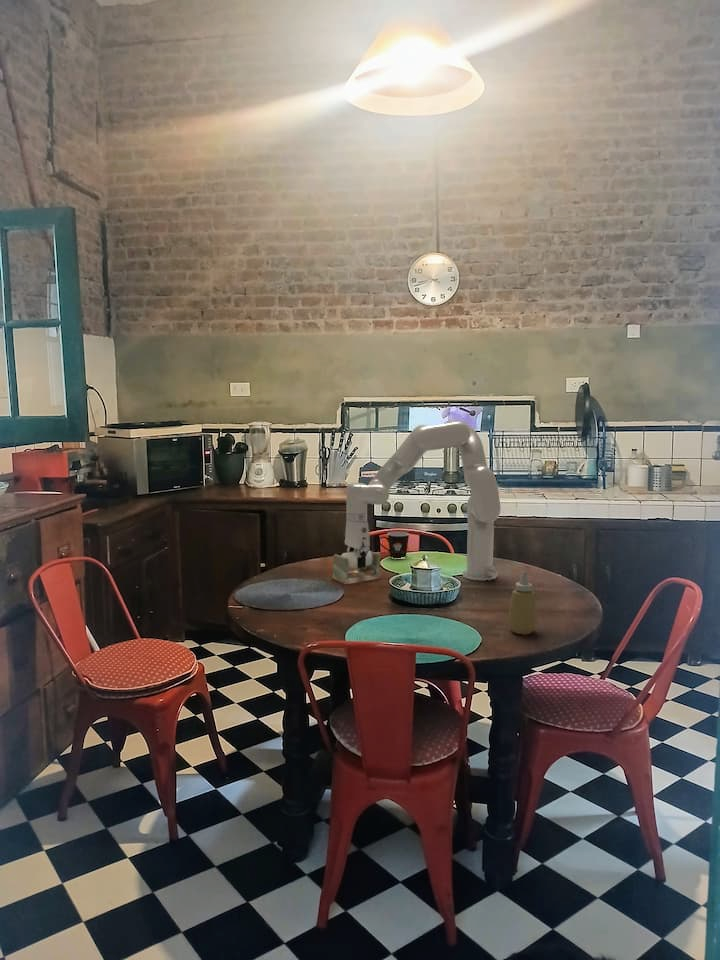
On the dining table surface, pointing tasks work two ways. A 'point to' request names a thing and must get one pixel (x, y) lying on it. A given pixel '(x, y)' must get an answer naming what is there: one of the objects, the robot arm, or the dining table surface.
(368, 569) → the roll holder
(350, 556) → the paper roll
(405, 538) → the coffee mug
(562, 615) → the dining table surface
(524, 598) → the squeeze bottle
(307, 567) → the dining table surface
